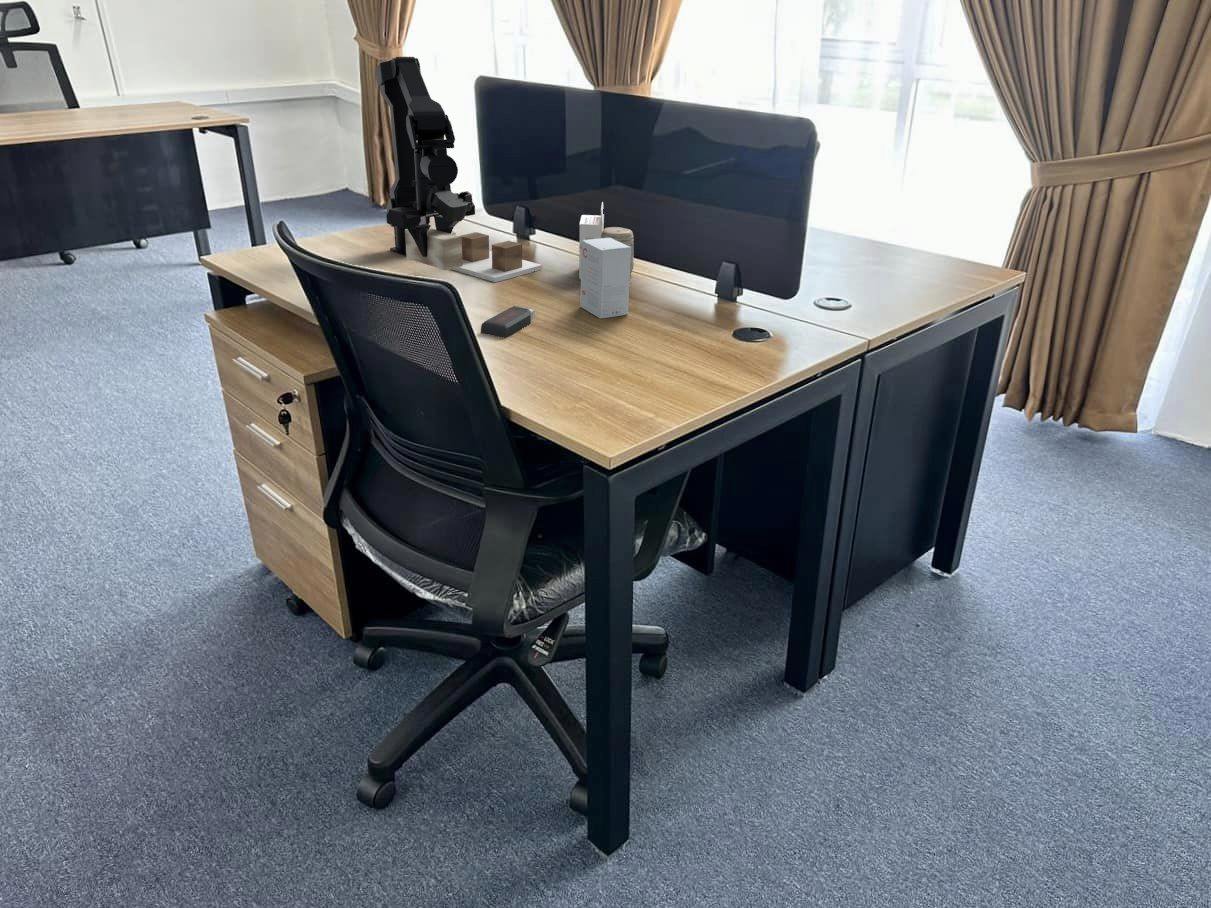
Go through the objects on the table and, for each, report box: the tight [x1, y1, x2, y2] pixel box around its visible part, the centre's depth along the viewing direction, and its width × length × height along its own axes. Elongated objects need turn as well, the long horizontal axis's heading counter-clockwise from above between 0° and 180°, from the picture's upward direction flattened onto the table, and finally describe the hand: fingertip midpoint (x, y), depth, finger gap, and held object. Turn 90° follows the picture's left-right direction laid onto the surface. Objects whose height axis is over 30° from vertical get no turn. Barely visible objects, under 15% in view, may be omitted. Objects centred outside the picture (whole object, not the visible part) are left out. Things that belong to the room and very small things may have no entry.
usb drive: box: [480, 305, 536, 339], centre depth 169 cm, size 5×12×3 cm, turn 155°
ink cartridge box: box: [578, 201, 605, 280], centre depth 198 cm, size 9×5×15 cm, turn 179°
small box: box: [579, 238, 631, 319], centre depth 176 cm, size 8×6×13 cm
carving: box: [601, 226, 635, 286], centre depth 190 cm, size 6×8×12 cm
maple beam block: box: [405, 227, 462, 271], centre depth 191 cm, size 12×4×6 cm, turn 50°
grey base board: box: [451, 250, 543, 283], centre depth 202 cm, size 17×14×1 cm
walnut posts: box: [460, 231, 523, 272], centre depth 201 cm, size 14×5×5 cm, turn 50°
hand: (433, 254), depth 192 cm, fingers closed on maple beam block, 4 cm apart
